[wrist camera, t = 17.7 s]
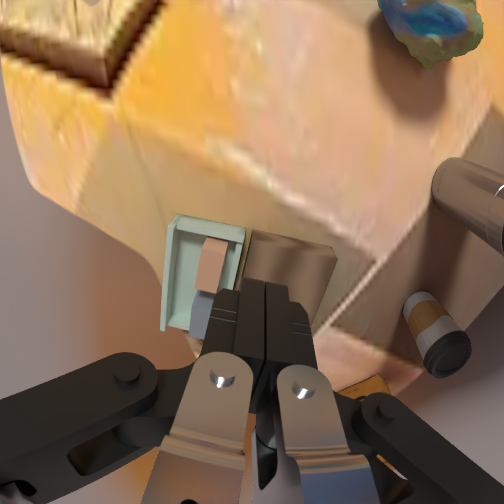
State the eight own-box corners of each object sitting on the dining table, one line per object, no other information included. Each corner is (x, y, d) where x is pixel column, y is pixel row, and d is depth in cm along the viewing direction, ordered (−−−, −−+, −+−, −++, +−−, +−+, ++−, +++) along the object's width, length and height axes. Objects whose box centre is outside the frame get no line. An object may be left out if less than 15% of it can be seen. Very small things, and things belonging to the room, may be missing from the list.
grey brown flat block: (331, 247, 44) (337, 259, 40) (297, 337, 52) (299, 353, 48) (252, 229, 43) (251, 240, 40) (230, 325, 51) (227, 341, 47)
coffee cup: (408, 329, 51) (438, 387, 37) (389, 306, 49) (420, 367, 35) (442, 302, 48) (479, 355, 35) (425, 276, 46) (466, 330, 32)
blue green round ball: (415, -61, 12) (460, 64, 19) (488, -25, 14) (517, 73, 21) (346, -25, 24) (376, 71, 31) (423, -10, 27) (446, 71, 33)
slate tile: (213, 309, 41) (191, 305, 41) (207, 340, 44) (188, 336, 44) (218, 286, 47) (199, 282, 47) (213, 316, 49) (195, 312, 49)
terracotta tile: (225, 254, 38) (201, 249, 37) (216, 293, 40) (194, 288, 40) (230, 235, 43) (209, 230, 43) (221, 271, 46) (202, 267, 45)
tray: (245, 227, 43) (243, 242, 39) (224, 324, 51) (221, 344, 46) (177, 213, 43) (167, 226, 38) (167, 311, 50) (160, 330, 46)
